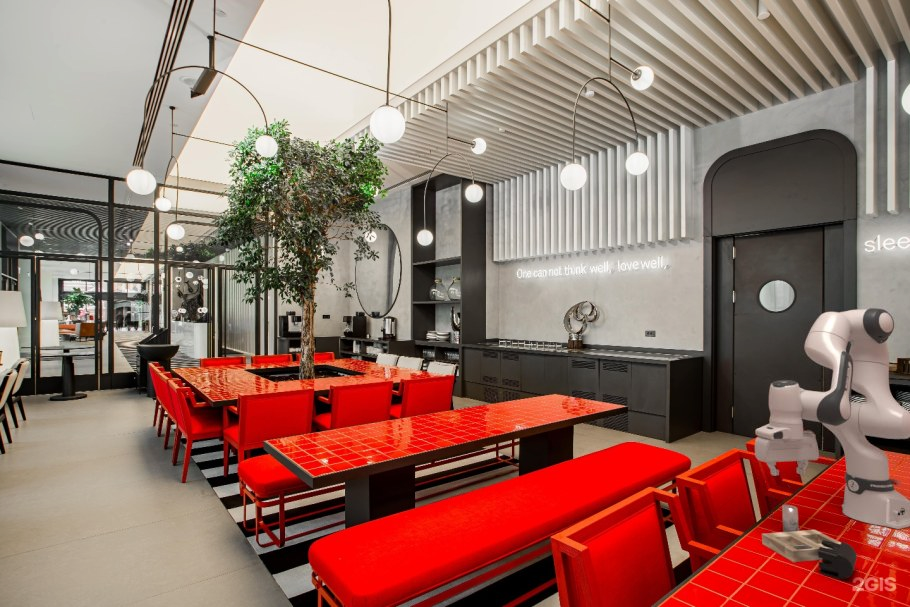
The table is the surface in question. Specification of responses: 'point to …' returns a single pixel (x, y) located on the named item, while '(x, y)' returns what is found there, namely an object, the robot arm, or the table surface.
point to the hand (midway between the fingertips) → (788, 474)
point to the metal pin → (790, 518)
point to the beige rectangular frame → (797, 544)
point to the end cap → (837, 560)
